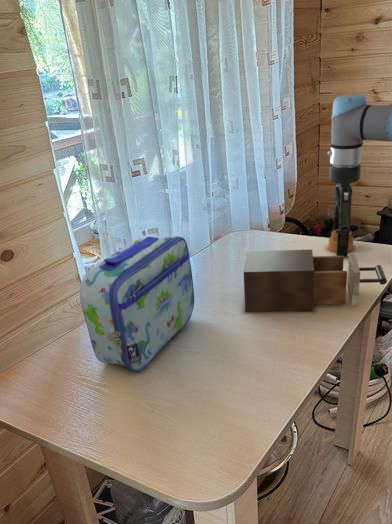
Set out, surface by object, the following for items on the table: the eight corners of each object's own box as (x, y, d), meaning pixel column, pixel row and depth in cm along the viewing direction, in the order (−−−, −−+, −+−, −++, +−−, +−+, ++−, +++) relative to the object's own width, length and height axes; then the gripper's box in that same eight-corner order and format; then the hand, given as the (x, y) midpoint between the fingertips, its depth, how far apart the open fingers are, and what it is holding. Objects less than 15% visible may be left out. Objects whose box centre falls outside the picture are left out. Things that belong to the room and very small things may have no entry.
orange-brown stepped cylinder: (351, 243, 141) (352, 227, 139) (354, 252, 136) (355, 236, 134) (327, 244, 142) (328, 228, 140) (329, 253, 137) (330, 237, 135)
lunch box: (134, 384, 94) (115, 279, 83) (89, 371, 99) (65, 271, 88) (203, 318, 113) (194, 226, 102) (162, 310, 118) (149, 221, 107)
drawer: (378, 284, 117) (382, 252, 113) (385, 305, 108) (389, 271, 104) (292, 285, 120) (293, 254, 116) (293, 306, 112) (293, 273, 108)
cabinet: (310, 288, 121) (312, 249, 116) (312, 311, 111) (314, 270, 106) (248, 289, 123) (247, 251, 118) (245, 312, 114) (243, 272, 109)
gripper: (326, 154, 138) (323, 232, 150) (333, 177, 118) (328, 265, 130) (355, 152, 137) (349, 231, 148) (367, 175, 117) (359, 264, 129)
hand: (339, 247), depth 139 cm, fingers open, 11 cm apart
